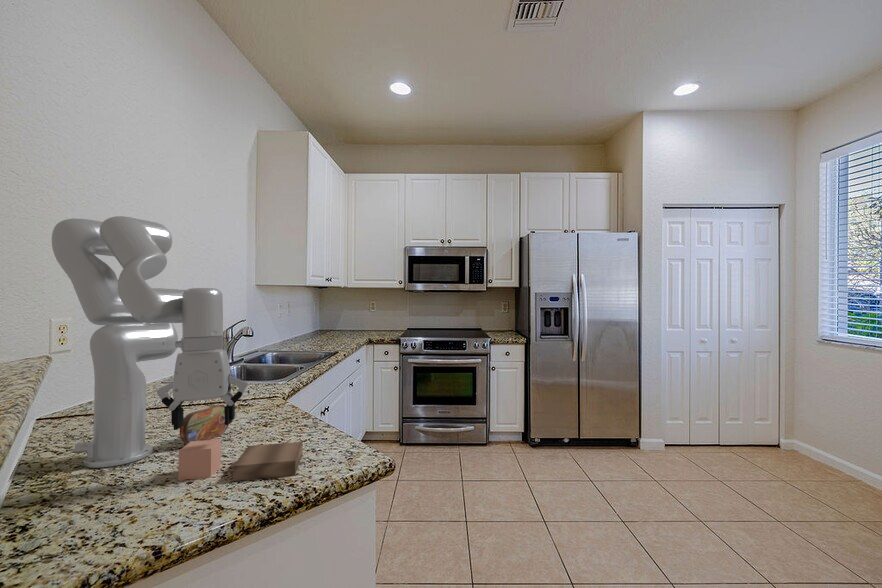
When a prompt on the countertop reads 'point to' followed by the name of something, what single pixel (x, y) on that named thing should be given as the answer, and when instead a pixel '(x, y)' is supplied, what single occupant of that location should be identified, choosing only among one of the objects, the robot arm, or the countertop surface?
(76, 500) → the countertop surface
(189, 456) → the cube
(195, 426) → the tin
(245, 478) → the base
